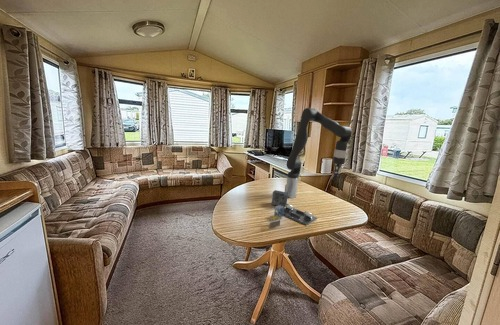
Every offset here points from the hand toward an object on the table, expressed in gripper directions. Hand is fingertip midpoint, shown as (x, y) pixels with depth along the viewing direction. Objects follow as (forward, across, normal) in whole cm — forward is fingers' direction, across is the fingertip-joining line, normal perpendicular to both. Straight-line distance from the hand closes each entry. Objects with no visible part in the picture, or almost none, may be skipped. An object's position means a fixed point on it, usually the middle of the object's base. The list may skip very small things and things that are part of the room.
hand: (335, 179), depth 147 cm
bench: (+26, +17, -19) cm, 36 cm away
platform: (+27, +39, -28) cm, 55 cm away
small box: (+27, +6, -36) cm, 46 cm away
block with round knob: (+27, +25, -30) cm, 47 cm away
